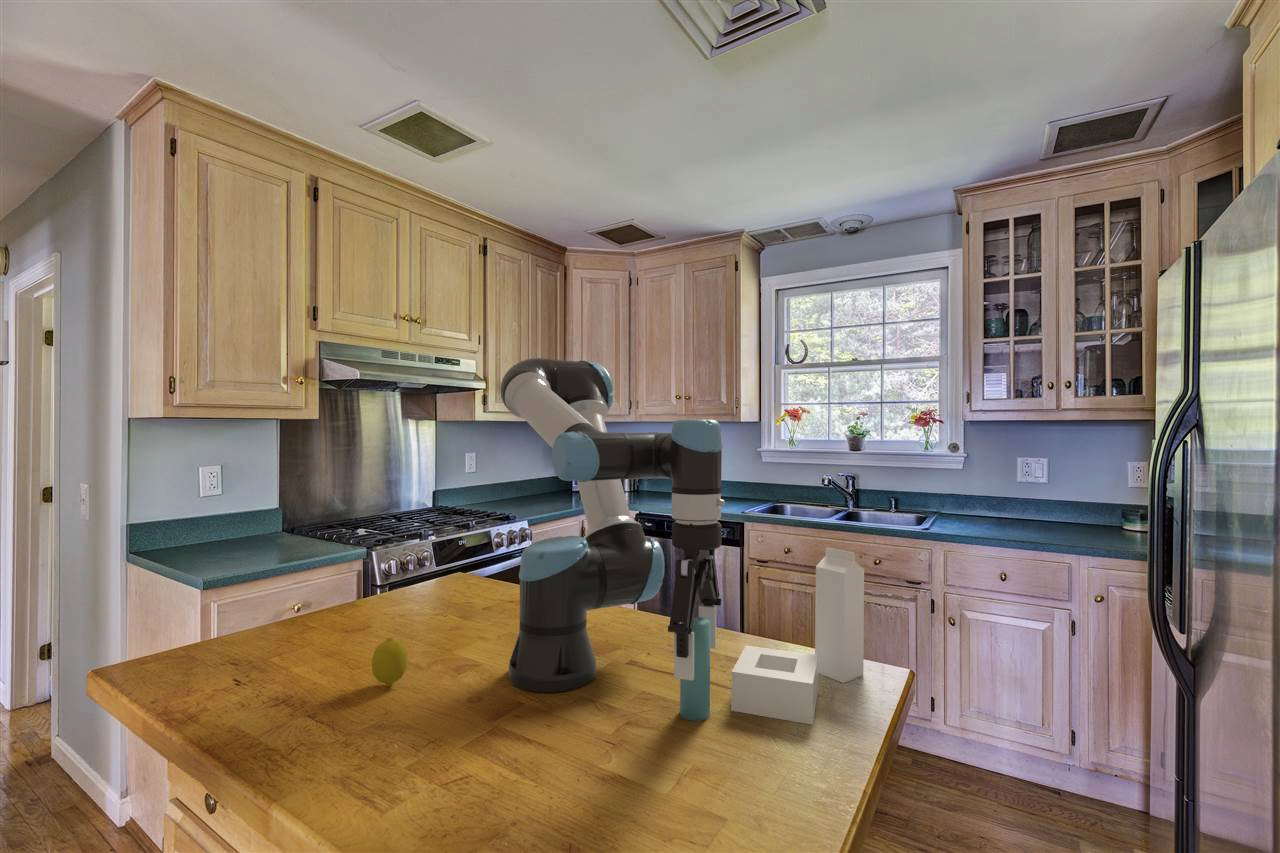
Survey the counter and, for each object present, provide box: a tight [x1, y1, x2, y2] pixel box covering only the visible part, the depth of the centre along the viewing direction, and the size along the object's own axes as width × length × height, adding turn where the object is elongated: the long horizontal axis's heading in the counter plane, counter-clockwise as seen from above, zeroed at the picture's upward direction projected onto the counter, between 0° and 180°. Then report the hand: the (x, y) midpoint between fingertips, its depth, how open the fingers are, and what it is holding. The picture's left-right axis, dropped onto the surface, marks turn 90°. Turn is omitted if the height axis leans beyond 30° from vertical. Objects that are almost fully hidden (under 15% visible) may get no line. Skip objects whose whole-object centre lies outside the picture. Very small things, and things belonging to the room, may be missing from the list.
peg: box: [679, 616, 711, 722], centre depth 91 cm, size 4×4×14 cm
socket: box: [730, 645, 819, 725], centre depth 96 cm, size 12×12×6 cm
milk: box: [814, 547, 865, 684], centre depth 107 cm, size 6×6×22 cm
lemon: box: [371, 637, 409, 687], centre depth 100 cm, size 6×6×8 cm
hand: (696, 661), depth 91 cm, fingers open, 13 cm apart
